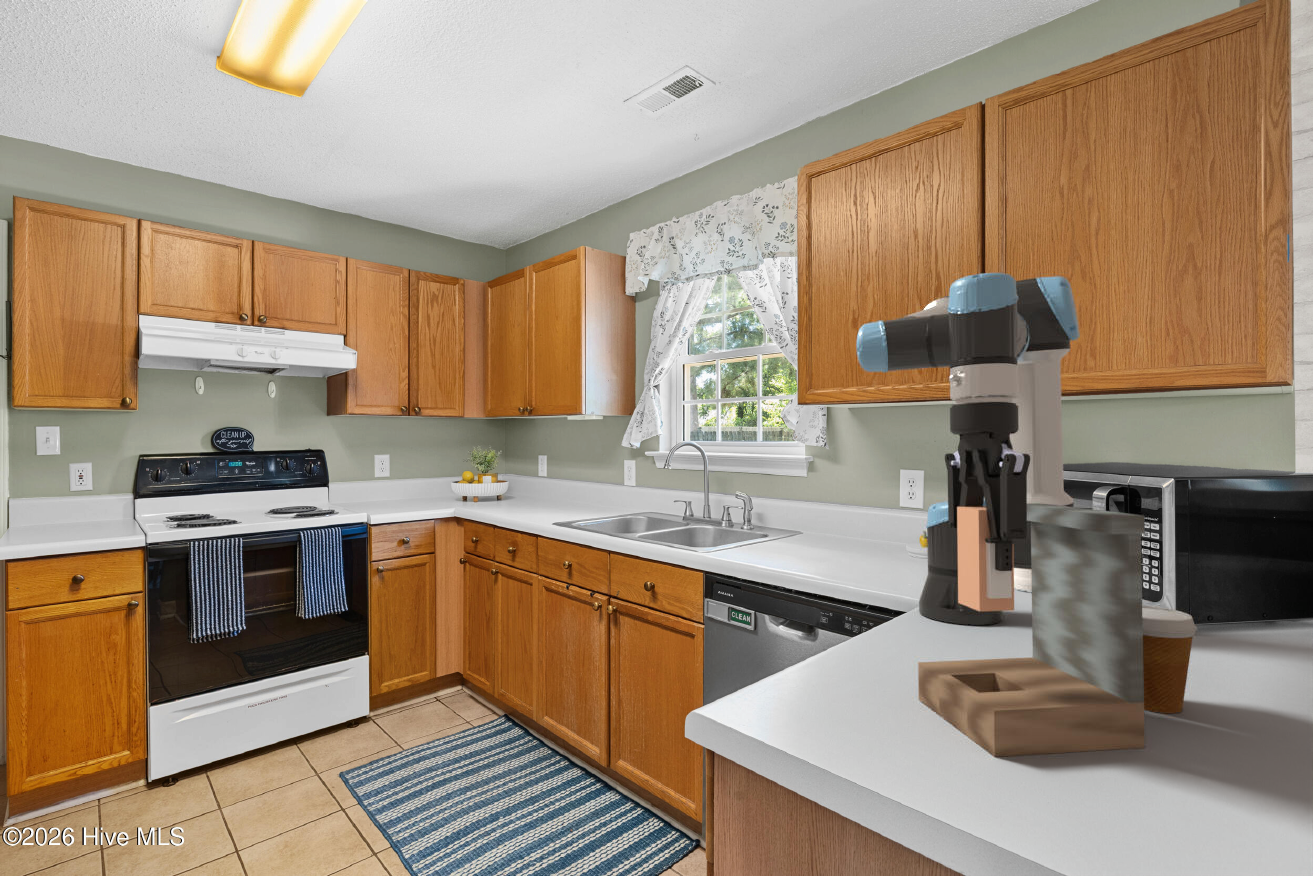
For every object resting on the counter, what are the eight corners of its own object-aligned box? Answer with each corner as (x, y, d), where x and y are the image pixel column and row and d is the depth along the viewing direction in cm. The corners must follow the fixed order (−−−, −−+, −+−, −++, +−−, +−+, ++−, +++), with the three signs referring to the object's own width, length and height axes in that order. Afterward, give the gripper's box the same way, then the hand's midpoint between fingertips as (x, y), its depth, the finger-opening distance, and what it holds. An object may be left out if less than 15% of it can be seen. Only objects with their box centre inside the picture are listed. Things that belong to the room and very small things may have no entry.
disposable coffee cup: (1100, 704, 84) (1098, 612, 85) (1115, 685, 91) (1114, 600, 91) (1194, 726, 78) (1192, 626, 78) (1203, 704, 84) (1201, 612, 85)
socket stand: (916, 698, 87) (914, 504, 87) (1040, 692, 89) (1038, 503, 89) (997, 759, 70) (994, 518, 70) (1148, 749, 72) (1144, 515, 72)
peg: (958, 602, 81) (957, 506, 81) (991, 601, 81) (989, 506, 81) (979, 611, 76) (978, 510, 77) (1014, 610, 77) (1012, 509, 77)
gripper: (917, 406, 88) (919, 579, 87) (1000, 395, 70) (1003, 611, 70) (969, 407, 88) (971, 578, 88) (1064, 396, 71) (1067, 609, 71)
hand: (985, 592), depth 79 cm, fingers closed on peg, 4 cm apart
